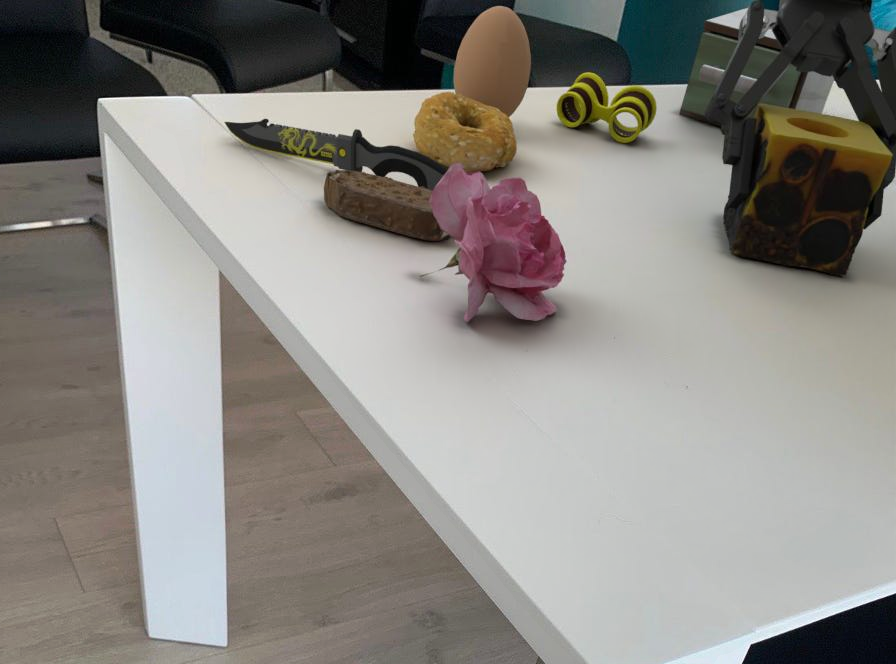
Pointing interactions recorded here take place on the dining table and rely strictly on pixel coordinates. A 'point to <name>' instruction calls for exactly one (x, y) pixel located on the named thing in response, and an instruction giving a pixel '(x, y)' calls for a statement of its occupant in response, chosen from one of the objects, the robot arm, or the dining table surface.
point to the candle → (807, 189)
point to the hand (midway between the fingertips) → (803, 211)
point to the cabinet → (810, 84)
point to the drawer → (714, 63)
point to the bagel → (464, 133)
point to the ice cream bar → (383, 203)
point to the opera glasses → (606, 106)
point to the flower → (499, 242)
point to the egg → (494, 61)
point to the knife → (339, 150)
